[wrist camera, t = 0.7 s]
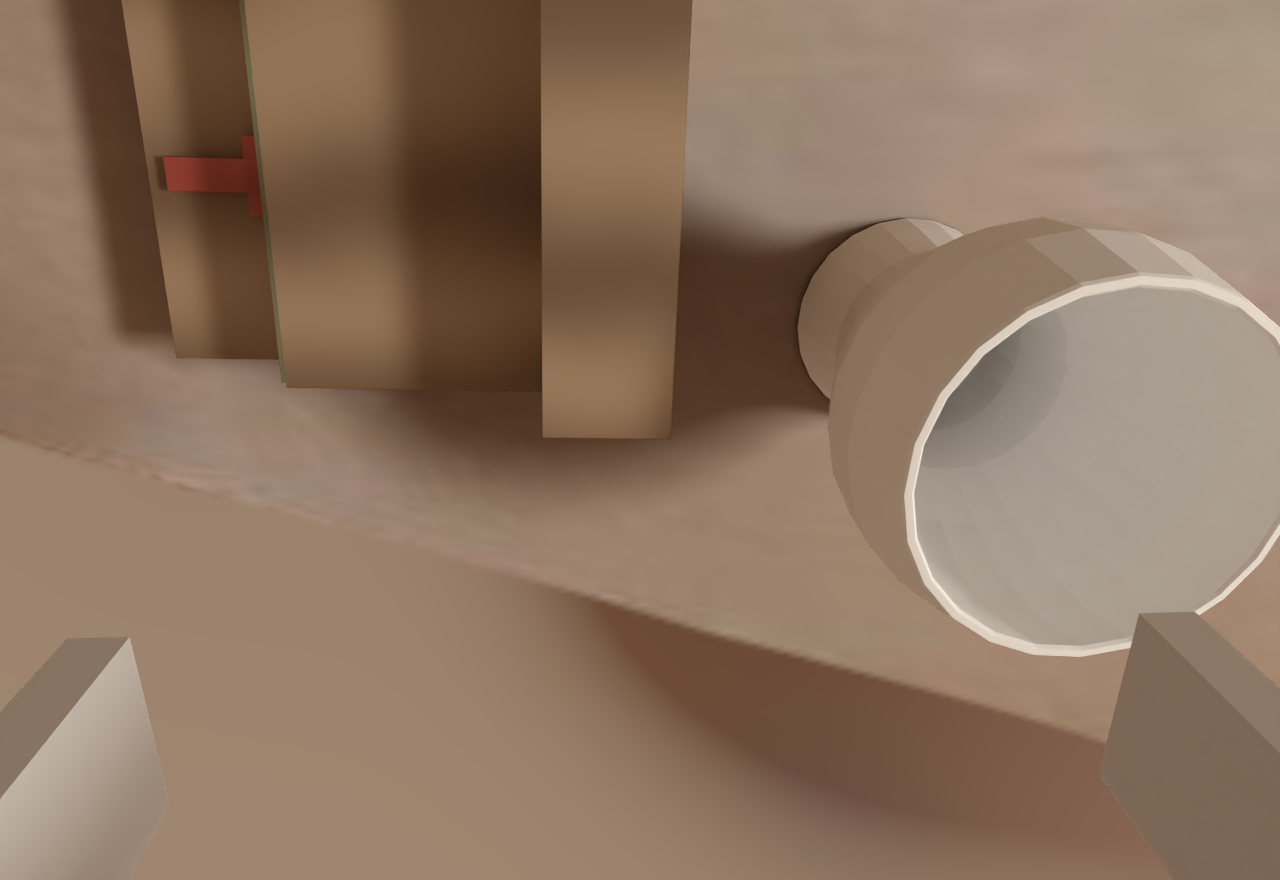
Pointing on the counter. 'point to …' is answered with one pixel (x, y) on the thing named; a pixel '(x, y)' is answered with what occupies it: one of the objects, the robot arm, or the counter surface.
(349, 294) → the stand
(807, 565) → the counter surface
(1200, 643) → the robot arm
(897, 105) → the counter surface
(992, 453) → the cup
